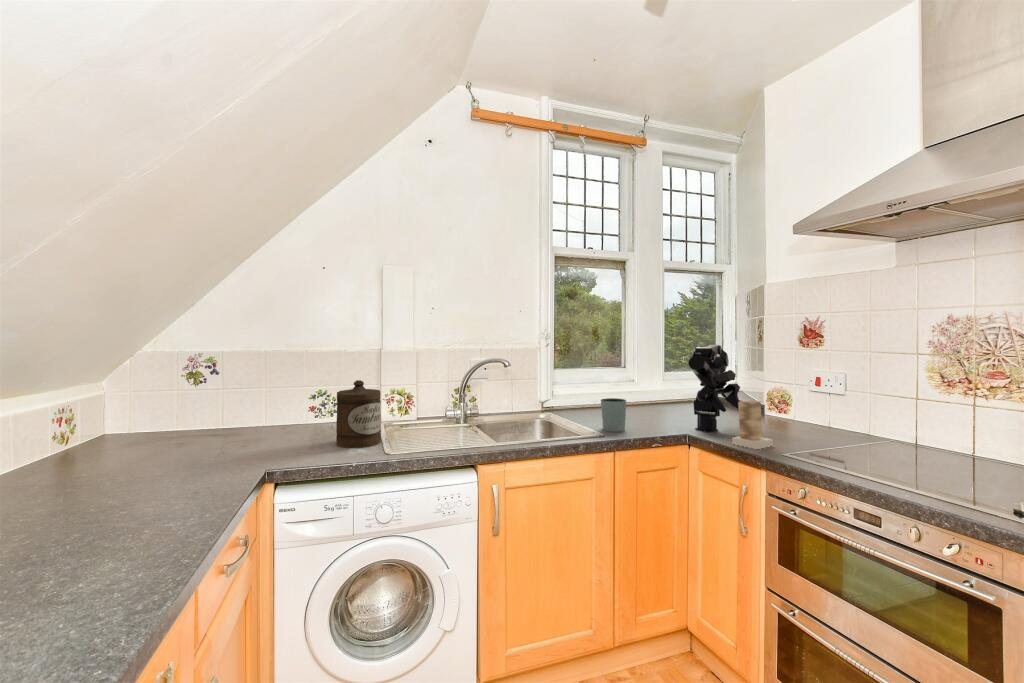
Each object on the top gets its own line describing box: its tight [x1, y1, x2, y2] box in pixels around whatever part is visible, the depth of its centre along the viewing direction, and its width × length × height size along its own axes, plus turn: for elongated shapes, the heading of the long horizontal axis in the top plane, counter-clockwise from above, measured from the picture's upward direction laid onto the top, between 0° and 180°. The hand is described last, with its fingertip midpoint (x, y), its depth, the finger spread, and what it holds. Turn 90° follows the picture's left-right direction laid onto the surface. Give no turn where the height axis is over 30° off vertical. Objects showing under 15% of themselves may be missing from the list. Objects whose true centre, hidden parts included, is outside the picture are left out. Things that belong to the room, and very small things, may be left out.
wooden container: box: [335, 379, 382, 449], centre depth 167 cm, size 15×15×22 cm
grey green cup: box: [600, 397, 627, 433], centre depth 191 cm, size 10×10×12 cm
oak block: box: [738, 399, 763, 440], centre depth 165 cm, size 5×5×12 cm
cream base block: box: [732, 435, 774, 450], centre depth 165 cm, size 9×9×3 cm
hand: (733, 410), depth 171 cm, fingers open, 9 cm apart
